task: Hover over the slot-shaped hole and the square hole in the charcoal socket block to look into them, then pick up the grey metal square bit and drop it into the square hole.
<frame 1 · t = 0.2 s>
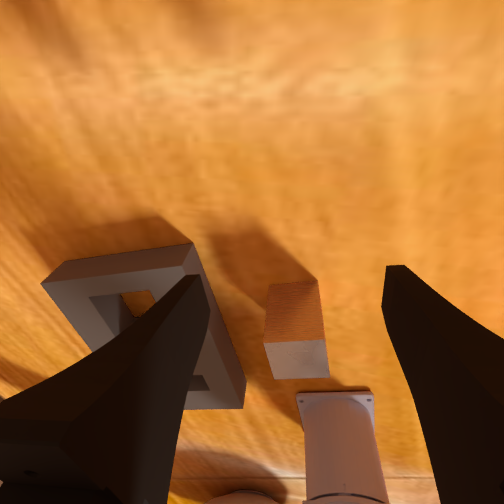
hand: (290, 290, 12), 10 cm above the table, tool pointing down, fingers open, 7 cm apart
ramen bowl: (251, 496, 51), on the table
socket block: (166, 328, 29), on the table
square bit: (296, 300, 25), on the table
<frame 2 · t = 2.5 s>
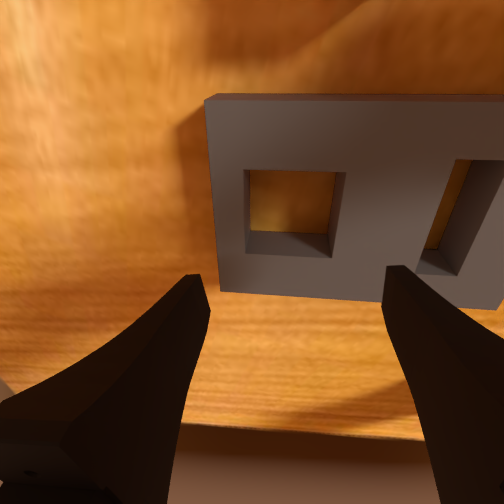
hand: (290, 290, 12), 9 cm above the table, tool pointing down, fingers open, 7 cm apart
socket block: (361, 199, 19), on the table
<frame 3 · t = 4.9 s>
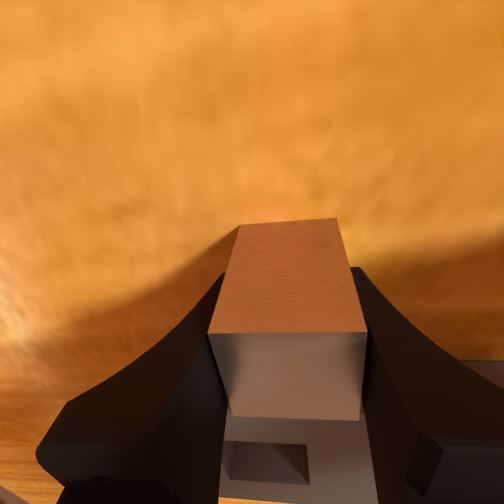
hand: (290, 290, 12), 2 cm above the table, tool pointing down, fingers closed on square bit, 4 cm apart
socket block: (333, 417, 20), on the table
square bit: (290, 260, 14), on the table, touching gripper
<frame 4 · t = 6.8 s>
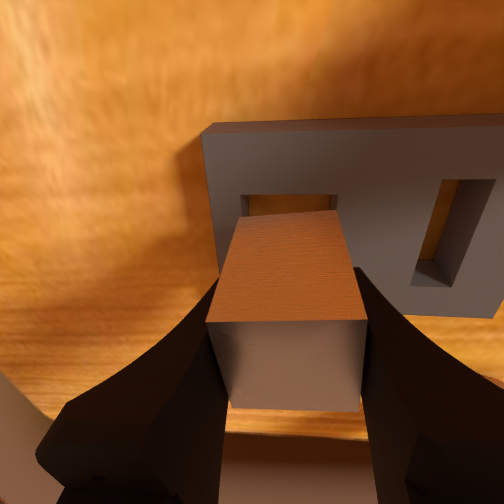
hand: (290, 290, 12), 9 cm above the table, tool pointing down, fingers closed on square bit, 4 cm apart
socket block: (356, 214, 20), on the table
square bit: (289, 253, 13), point 7 cm above the table, touching gripper
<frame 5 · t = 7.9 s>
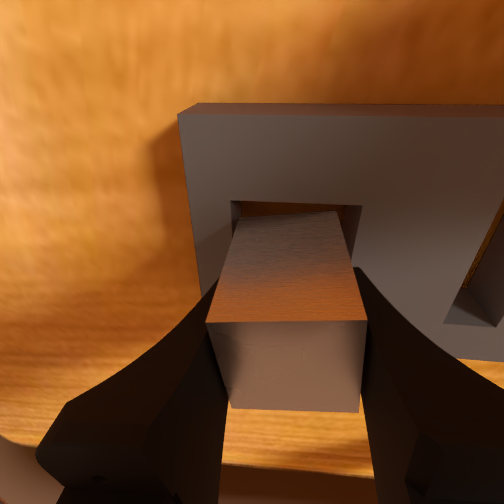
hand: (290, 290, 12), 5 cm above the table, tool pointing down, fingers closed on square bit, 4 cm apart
socket block: (376, 229, 16), on the table
square bit: (289, 254, 13), point 3 cm above the table, touching gripper
when the fingers open (4 cm above the table, at t = 8.7 s): square bit drops 2 cm, resting in socket block.
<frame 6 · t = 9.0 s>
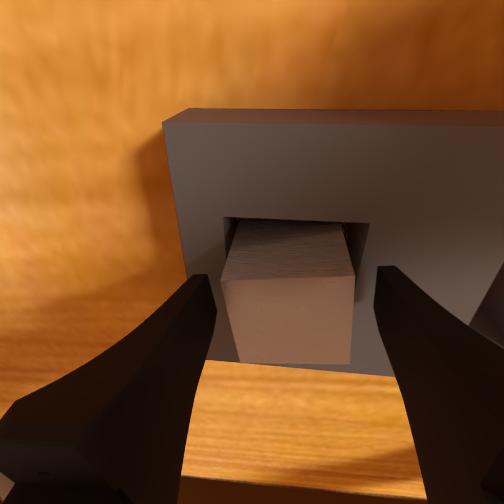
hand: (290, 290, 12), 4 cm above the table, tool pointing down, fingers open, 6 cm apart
socket block: (383, 245, 15), on the table
square bit: (290, 235, 15), resting in socket block
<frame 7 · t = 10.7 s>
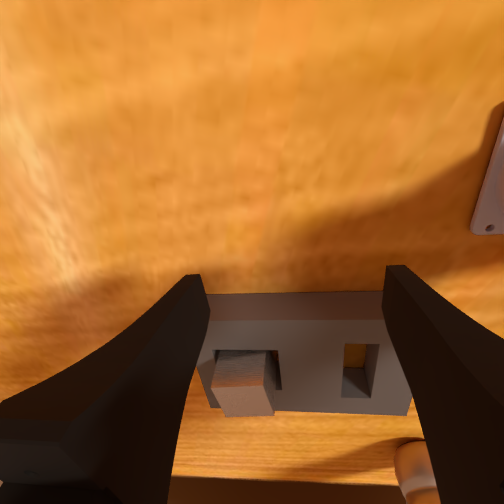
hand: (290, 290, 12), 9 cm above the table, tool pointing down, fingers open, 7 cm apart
plastic bottle: (417, 445, 35), on the table
socket block: (300, 342, 27), on the table
square bit: (251, 340, 28), resting in socket block
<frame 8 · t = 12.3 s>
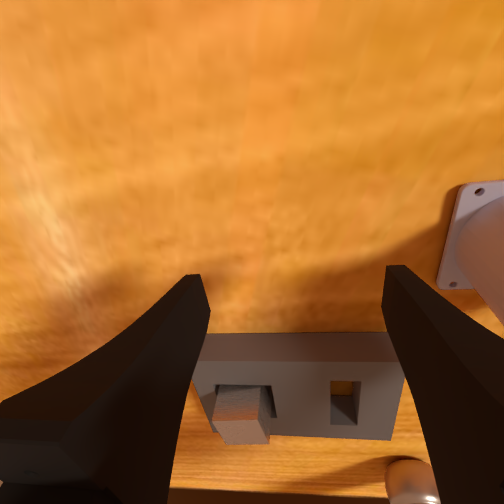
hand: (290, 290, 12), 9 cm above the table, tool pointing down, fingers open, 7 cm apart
plastic bottle: (407, 462, 38), on the table
socket block: (293, 374, 30), on the table
square bit: (249, 371, 31), resting in socket block
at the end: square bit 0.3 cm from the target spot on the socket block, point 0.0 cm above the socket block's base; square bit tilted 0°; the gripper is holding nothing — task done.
